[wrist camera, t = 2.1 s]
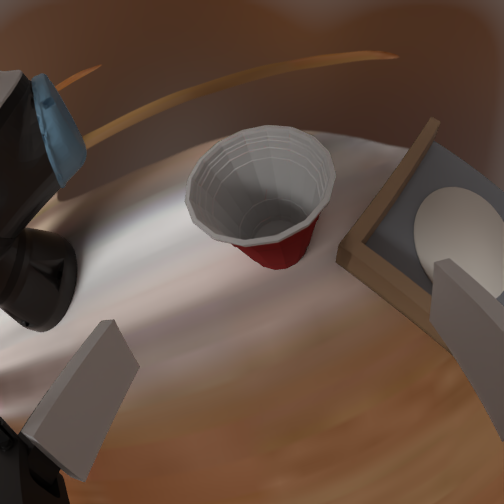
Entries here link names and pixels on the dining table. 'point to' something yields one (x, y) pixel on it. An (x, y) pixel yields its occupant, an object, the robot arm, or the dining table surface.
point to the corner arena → (427, 230)
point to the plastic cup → (262, 192)
